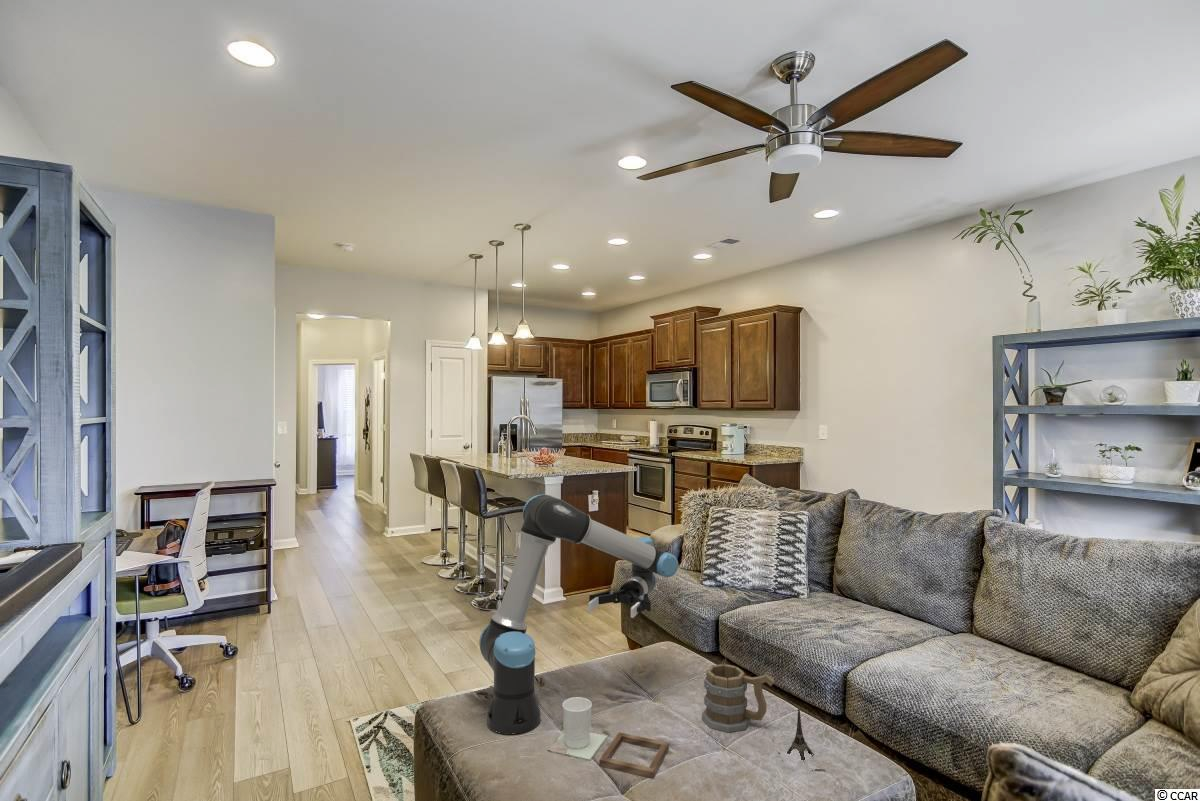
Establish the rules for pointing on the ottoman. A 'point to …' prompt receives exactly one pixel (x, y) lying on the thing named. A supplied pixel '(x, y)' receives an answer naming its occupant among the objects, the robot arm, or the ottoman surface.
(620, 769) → the walnut collar
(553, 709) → the ottoman surface
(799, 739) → the eiffel tower figurine
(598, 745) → the sage tile
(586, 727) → the white cup
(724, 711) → the tankard
